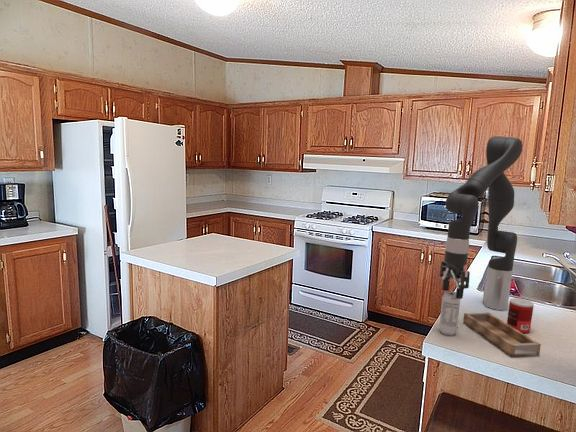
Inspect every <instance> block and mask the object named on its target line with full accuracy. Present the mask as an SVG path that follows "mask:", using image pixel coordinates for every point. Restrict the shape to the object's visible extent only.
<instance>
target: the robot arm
mask: <svg viewBox="0 0 576 432" xmlns="http://www.w3.org/2000/svg"><path fill="white" fill-rule="evenodd" d="M485 150H486V151H485V156H486V165H484V166H483V167H481V168H479V169H477V170H475V171H474V172H473V174H471V176H470V177H469V178H468V179H467V181H466V182H465V183H464V184H462V185H460V186H459V187H458V188H456V189H454V190H453V191H452V192H450V193H449V195H448V196H447V198H446V200H445V209H446V210H447V211H448V212H449V213H452V214H459V215H461V217H460V218H459V219H456V220H455V219H454V220H451V221H450V222H449V223H448V229H447V238H446V242H445V249H444V260H443V261H441V262H440V270H439V277H440V278H441V280H442V288H441V289H442V291H444V292H445V291H450V290H449V289H450V283H451V281H450V280H451V278H452V279H453V282H454V283H455V286H456V290H455V292H456V298H457V299H460V300H462V299H463V298H464V290H466V289H469V288H470V287H469V286H470V276H471V274H470V271H469V270H465V268H464V267H465V266H467V264H468V258H469V257H468V256H469V249H470V233H471V232H470V231H471V227H472V224H473V221H474V219H475V216H476V215H477V212H478V209H479V200H478V199H479V198H481V197H482V196H483V195H484V194H485V193H486V191H487V190H488V191H487V192H488V194H487V201H488V202H487V205H488V206H487V207H488V227H487V239H486V244H487V249H488V250H489V251H491V252H494V253H495V252H496V253H501V254H504V256H502V257H498V258H491V259H489V261H488V265H487V274H486V281H485V282H484V286H483V295H482V296H483V297H482V303H483V306H484V307H486V308H488V307H489V308H488V309H492V310H496V311H505V310H508V309H509V301H510V291H511V285H512V284H511V283H512V276H513V269H514V268H513V267H514V262H515V256H516V250H517V245H518V244H517V243H518V235H517V233H515V232H512V231H505V230H499V229H498V227H499V225H500V224H501V222H502V221H503V220H504V219H505V218H506V217H507V216H508V215H509V214H510V213H511V211H513V208H514V207H515V188H514V186H513V184H512V183H511V181H510V179H509V178H508V177H507V175H506V174H505V172H506V171H507V170H508V169H509V168H510V167H511V166H513V165H514V164H515V163H516V162H517V160H518V159H519V158H520V156H521V155H522V151H523V141H522V140H521V139H520V138H517V137H510V136H500V135H499V136H498V135H497V136H496V135H494V136H491V137H489V139H488V142H487V143H486V149H485Z"/></svg>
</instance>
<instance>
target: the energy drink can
mask: <svg viewBox="0 0 576 432" xmlns="http://www.w3.org/2000/svg"><path fill="white" fill-rule="evenodd" d="M441 297H442V298H441V308H440V319H439V324H438V325H439V327H438V329H439V331H440V333H441V334H442V335H445V336H455V334H456V333H457V332H458V325H459V323H458V322H459V315H460V307H461V299H457V298H456V291H453V290H452V291H451V290H448V291H444V294H443V295H442V296H441Z"/></svg>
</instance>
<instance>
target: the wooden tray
mask: <svg viewBox="0 0 576 432" xmlns="http://www.w3.org/2000/svg"><path fill="white" fill-rule="evenodd" d="M462 320H463V324H464V325H465V326H466V327H468V328H469V329H471V330H472V331H473V332H475V333H476V334H477V335H479V336H480V337H481V338H483V339H485V340H486V341H488V342H489V343H490V344H491V345H493V346H494V347H496V348H497V349H498V350H500V351H501V352H503V353H504V354H506V355H507V356H508V357H510V358H522V357H523V358H524V357H539V356H540V353H541V345H542V344H541V343H540V342H538V341H536V340H534V339H533V338H531V337H530V336H528V335H526V333H525V334H523V333H521V332H520V331H518V330H516V329H515V328H513V327H511V326H510V325H508V324H507V322H505V321H504V320H501V319H500V318H498V317H496V316H495V315H493V314H492V313H490V312H471V313H469V312H468V313H466V312H464V313H463V319H462Z"/></svg>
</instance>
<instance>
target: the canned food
mask: <svg viewBox="0 0 576 432" xmlns="http://www.w3.org/2000/svg"><path fill="white" fill-rule="evenodd" d="M534 306H535V305H534V303H533V302H532V301H530V300H528V299H524V298H520V297H518V298H516V297H513V298H509V302H508V312H507V319H506V320H507V321H506V324H508V325H510V326H511V327H513V328H515V329H516V330H518V331H520V332H521V333H523V334H525V335H526V334H528V333H530V331H531V328H532V327H531V326H532V319H533V313H534Z"/></svg>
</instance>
